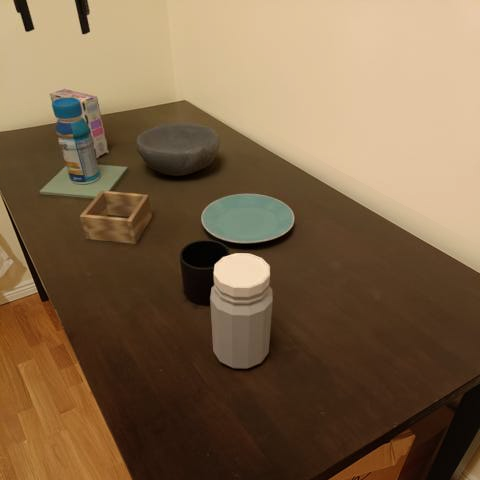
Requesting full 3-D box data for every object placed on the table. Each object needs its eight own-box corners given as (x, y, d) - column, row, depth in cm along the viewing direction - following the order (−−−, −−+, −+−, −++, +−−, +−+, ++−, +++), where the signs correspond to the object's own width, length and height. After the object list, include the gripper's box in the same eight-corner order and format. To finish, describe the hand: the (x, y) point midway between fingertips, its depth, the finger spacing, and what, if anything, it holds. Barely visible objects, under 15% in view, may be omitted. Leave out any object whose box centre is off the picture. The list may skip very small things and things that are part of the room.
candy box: (110, 152, 133) (98, 95, 121) (96, 159, 129) (82, 101, 118) (79, 143, 138) (64, 87, 127) (64, 149, 135) (48, 92, 123)
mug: (218, 264, 92) (216, 228, 86) (237, 299, 84) (237, 262, 78) (175, 274, 90) (170, 237, 84) (191, 310, 82) (187, 273, 76)
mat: (40, 194, 114) (39, 191, 114) (70, 164, 127) (69, 162, 126) (104, 199, 112) (103, 197, 112) (128, 169, 125) (127, 166, 124)
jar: (223, 326, 79) (220, 244, 66) (274, 337, 77) (282, 255, 64) (205, 365, 72) (198, 283, 60) (260, 378, 70) (266, 296, 58)
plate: (186, 241, 99) (185, 230, 97) (222, 196, 114) (221, 186, 112) (278, 261, 93) (279, 250, 91) (303, 212, 108) (304, 201, 106)
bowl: (208, 148, 135) (206, 115, 128) (229, 180, 120) (229, 144, 113) (135, 158, 130) (129, 124, 123) (147, 192, 115) (142, 156, 108)
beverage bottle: (102, 183, 117) (83, 105, 103) (69, 187, 115) (46, 108, 101) (100, 169, 123) (82, 94, 109) (69, 173, 121) (47, 97, 107)
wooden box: (86, 239, 99) (79, 216, 95) (106, 212, 108) (100, 190, 103) (135, 244, 98) (131, 221, 94) (152, 216, 106) (148, 194, 102)
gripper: (94, -99, 84) (116, 30, 98) (-23, -100, 86) (15, 26, 101) (78, -99, 78) (103, 37, 93) (-46, -100, 81) (-2, 33, 96)
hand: (58, 32), depth 97 cm, fingers open, 13 cm apart
